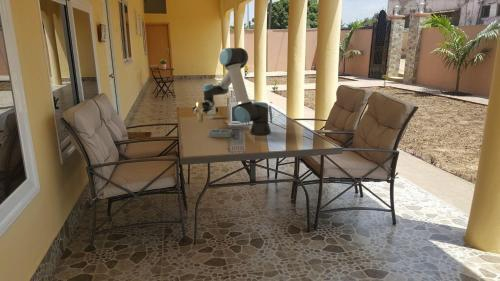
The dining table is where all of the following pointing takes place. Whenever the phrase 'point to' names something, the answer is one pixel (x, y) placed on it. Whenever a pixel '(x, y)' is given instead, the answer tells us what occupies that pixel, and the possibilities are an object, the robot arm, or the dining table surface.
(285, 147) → the dining table surface
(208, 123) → the dining table surface
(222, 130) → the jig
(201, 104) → the gold metal cylinder
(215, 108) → the pneumatic valve
